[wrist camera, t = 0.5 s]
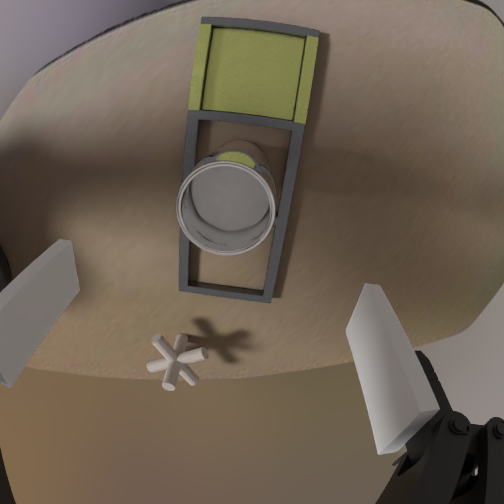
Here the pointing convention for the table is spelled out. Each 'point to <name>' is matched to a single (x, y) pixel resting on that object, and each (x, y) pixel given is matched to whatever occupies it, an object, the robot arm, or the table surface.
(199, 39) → the grey flat frame
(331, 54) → the table surface
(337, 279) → the table surface
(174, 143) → the table surface
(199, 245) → the beer glass
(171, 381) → the pipe connector
